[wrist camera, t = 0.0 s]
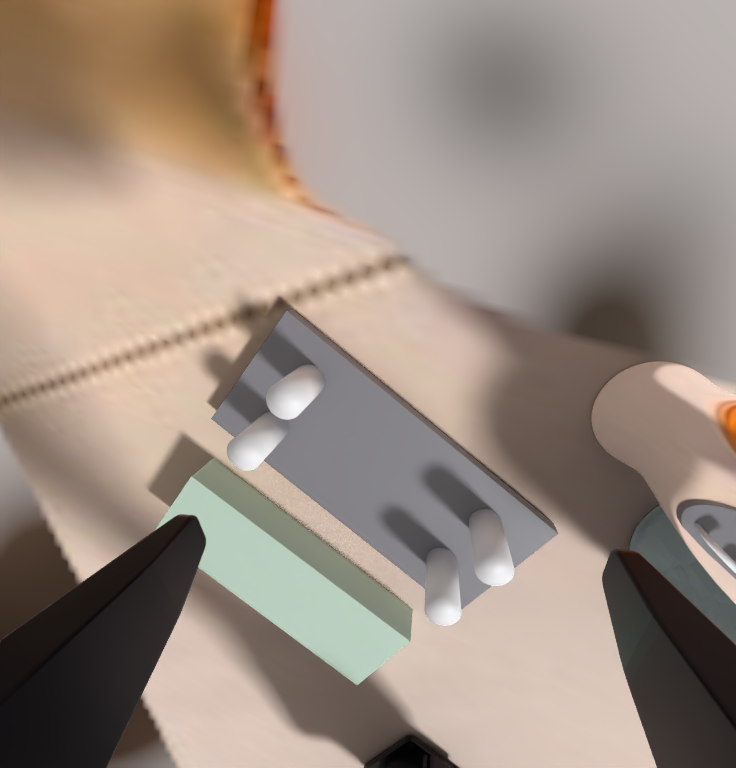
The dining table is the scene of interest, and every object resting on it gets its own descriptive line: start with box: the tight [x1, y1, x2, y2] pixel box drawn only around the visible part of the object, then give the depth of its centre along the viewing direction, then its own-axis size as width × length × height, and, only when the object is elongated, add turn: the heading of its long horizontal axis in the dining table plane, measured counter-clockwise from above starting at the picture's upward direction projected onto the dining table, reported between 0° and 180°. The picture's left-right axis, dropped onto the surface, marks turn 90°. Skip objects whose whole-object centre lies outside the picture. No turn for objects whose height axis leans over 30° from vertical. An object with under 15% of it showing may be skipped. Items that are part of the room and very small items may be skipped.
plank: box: [155, 458, 412, 685], centre depth 28 cm, size 6×18×3 cm, turn 53°
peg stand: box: [211, 309, 558, 626], centre depth 23 cm, size 9×21×5 cm, turn 52°
